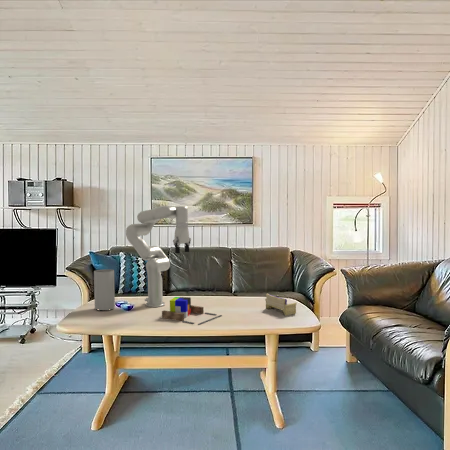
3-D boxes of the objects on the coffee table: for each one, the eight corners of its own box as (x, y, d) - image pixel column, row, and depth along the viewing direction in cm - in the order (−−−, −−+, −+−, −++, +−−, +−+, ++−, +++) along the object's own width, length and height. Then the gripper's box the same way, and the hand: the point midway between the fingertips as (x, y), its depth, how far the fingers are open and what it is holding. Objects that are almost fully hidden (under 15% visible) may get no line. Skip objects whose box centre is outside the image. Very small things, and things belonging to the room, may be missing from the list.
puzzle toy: (186, 317, 237) (185, 301, 237) (169, 317, 239) (169, 300, 239) (190, 313, 247) (190, 297, 246) (175, 313, 249) (175, 296, 248)
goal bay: (182, 322, 228) (182, 321, 228) (205, 313, 247) (205, 312, 247) (199, 325, 221) (199, 324, 221) (221, 315, 240) (221, 315, 240)
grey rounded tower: (113, 306, 269) (112, 268, 268) (116, 310, 258) (115, 271, 257) (93, 308, 263) (92, 270, 263) (96, 312, 252) (95, 272, 251)
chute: (162, 317, 237) (161, 311, 237) (184, 310, 255) (184, 304, 255) (181, 321, 229) (181, 314, 229) (203, 313, 247) (203, 306, 246)
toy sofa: (297, 313, 244) (296, 297, 244) (285, 315, 240) (285, 298, 239) (275, 307, 262) (275, 291, 262) (264, 308, 257) (264, 293, 257)
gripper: (185, 225, 265) (185, 251, 265) (168, 226, 250) (169, 253, 251) (194, 225, 261) (195, 251, 261) (178, 226, 246) (178, 254, 247)
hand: (182, 252), depth 256 cm, fingers open, 9 cm apart
